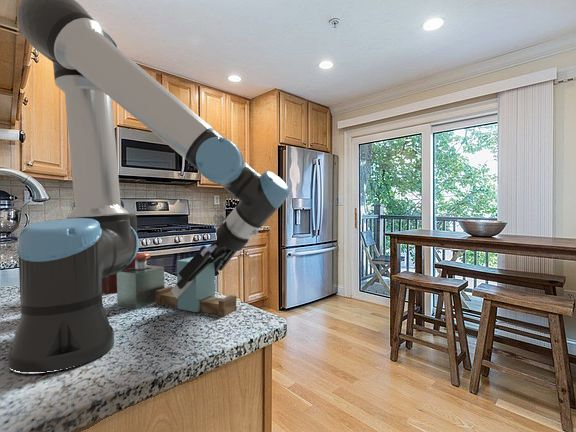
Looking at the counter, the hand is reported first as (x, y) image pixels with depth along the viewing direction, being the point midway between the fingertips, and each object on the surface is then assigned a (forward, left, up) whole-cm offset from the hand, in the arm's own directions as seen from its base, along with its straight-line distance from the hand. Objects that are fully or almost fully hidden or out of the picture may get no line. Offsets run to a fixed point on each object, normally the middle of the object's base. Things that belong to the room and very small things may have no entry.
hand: (186, 290), depth 81 cm
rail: (-1, -3, -4) cm, 5 cm away
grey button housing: (0, +13, -4) cm, 14 cm away
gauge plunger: (0, +13, +3) cm, 13 cm away
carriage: (-1, -3, -4) cm, 5 cm away
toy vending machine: (+12, +30, -4) cm, 33 cm away
